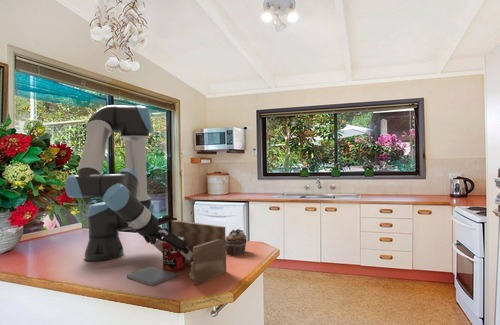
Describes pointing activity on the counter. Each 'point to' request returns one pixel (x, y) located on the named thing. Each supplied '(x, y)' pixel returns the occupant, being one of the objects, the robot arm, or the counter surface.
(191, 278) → the offcut stack
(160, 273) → the slate tile
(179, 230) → the walnut rack
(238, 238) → the cupcake
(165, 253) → the canned food
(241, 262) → the counter surface
